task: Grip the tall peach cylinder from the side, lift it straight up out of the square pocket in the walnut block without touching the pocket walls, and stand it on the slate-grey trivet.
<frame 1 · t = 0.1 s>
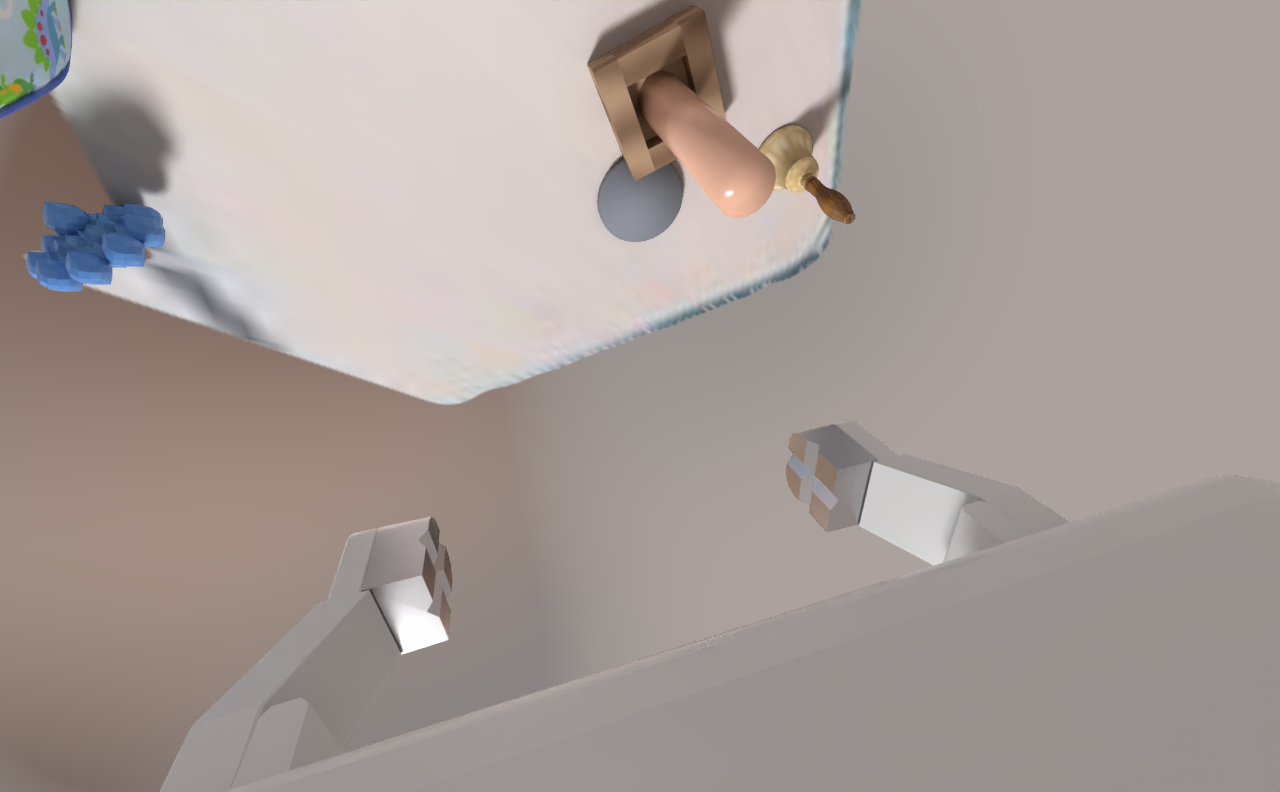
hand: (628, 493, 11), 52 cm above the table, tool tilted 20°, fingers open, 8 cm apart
hand bell: (781, 158, 64), on the table
pocket block: (657, 95, 54), on the table
trivet: (639, 198, 62), on the table
tall peach cylinder: (660, 98, 53), point 1 cm above the table, touching pocket block
grapes: (116, 204, 47), on the table
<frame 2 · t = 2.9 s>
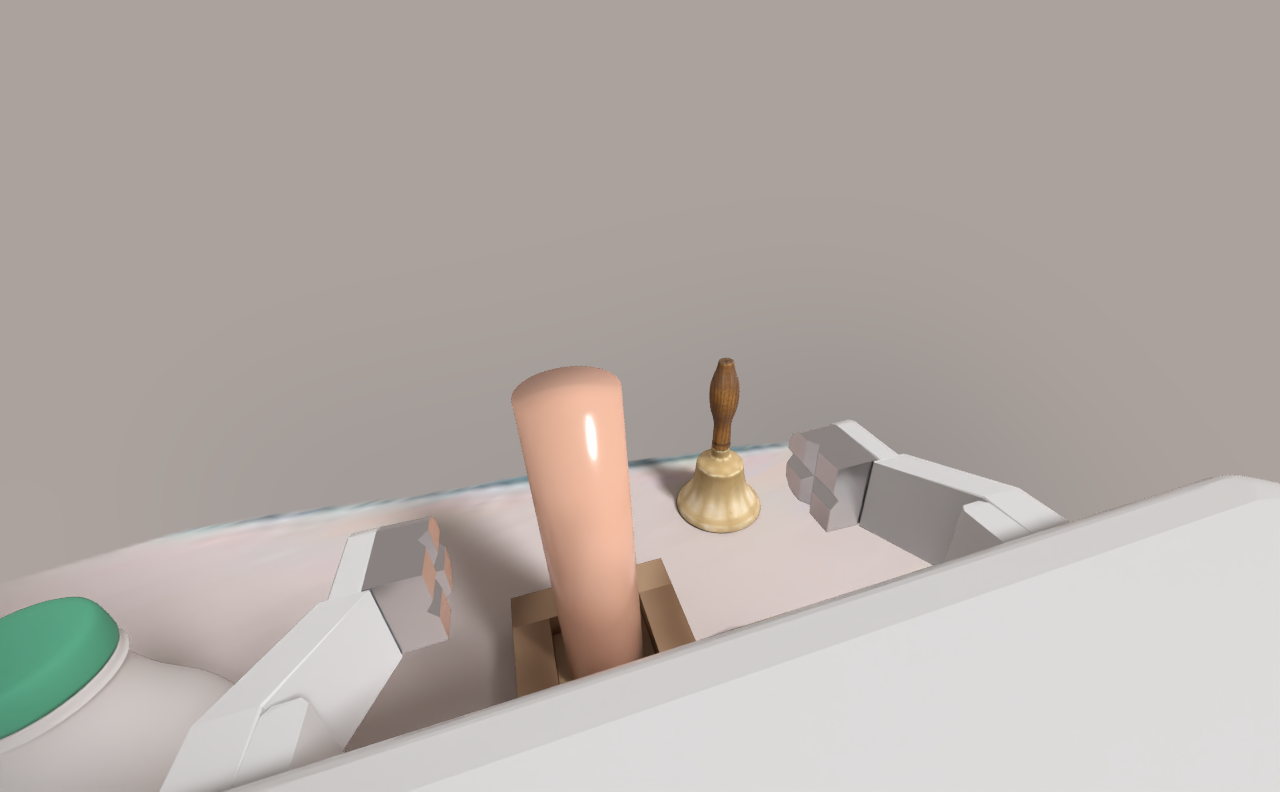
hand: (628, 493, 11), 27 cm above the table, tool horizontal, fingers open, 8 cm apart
hand bell: (718, 504, 49), on the table
pocket block: (608, 672, 34), on the table
tall peach cylinder: (607, 663, 34), point 1 cm above the table, touching pocket block
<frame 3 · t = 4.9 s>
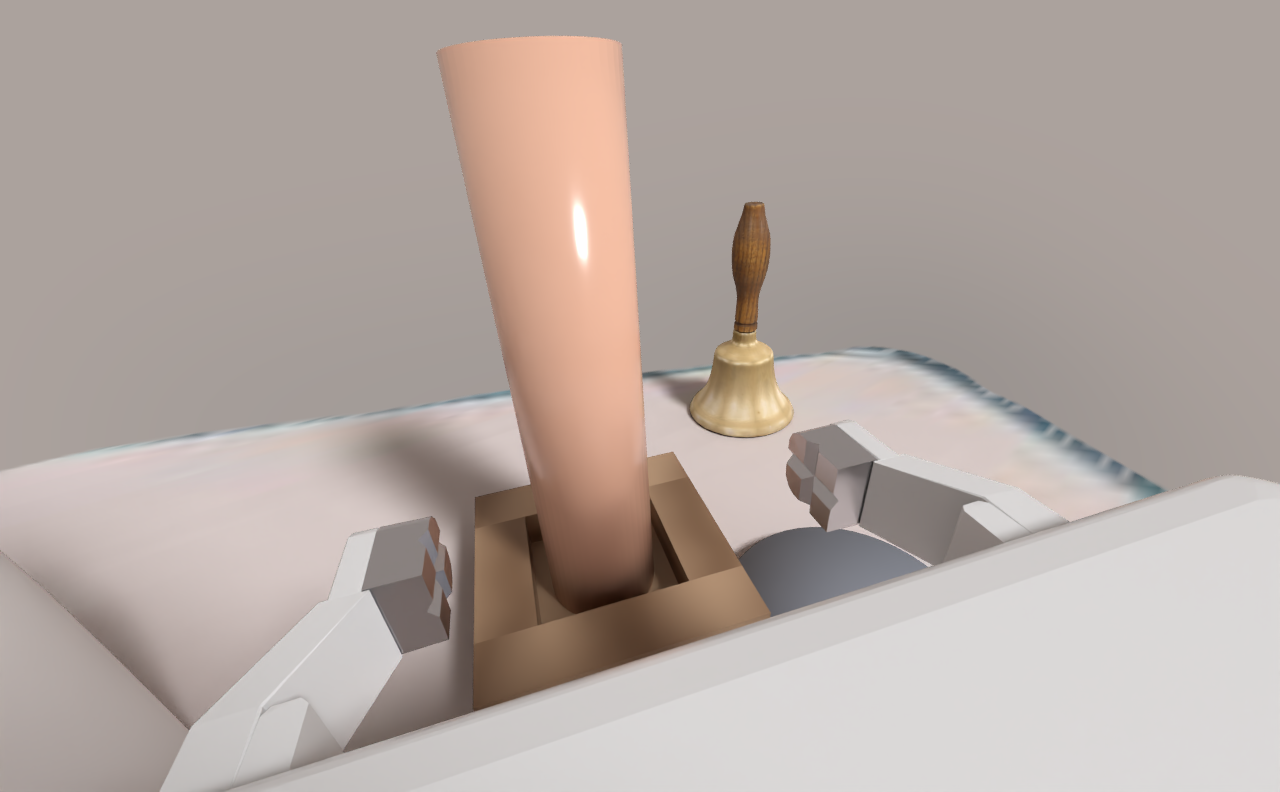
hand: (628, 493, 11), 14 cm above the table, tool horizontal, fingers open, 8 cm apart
hand bell: (740, 411, 40), on the table
pocket block: (605, 586, 25), on the table
trivet: (843, 629, 22), on the table
tall peach cylinder: (603, 573, 25), point 1 cm above the table, touching pocket block
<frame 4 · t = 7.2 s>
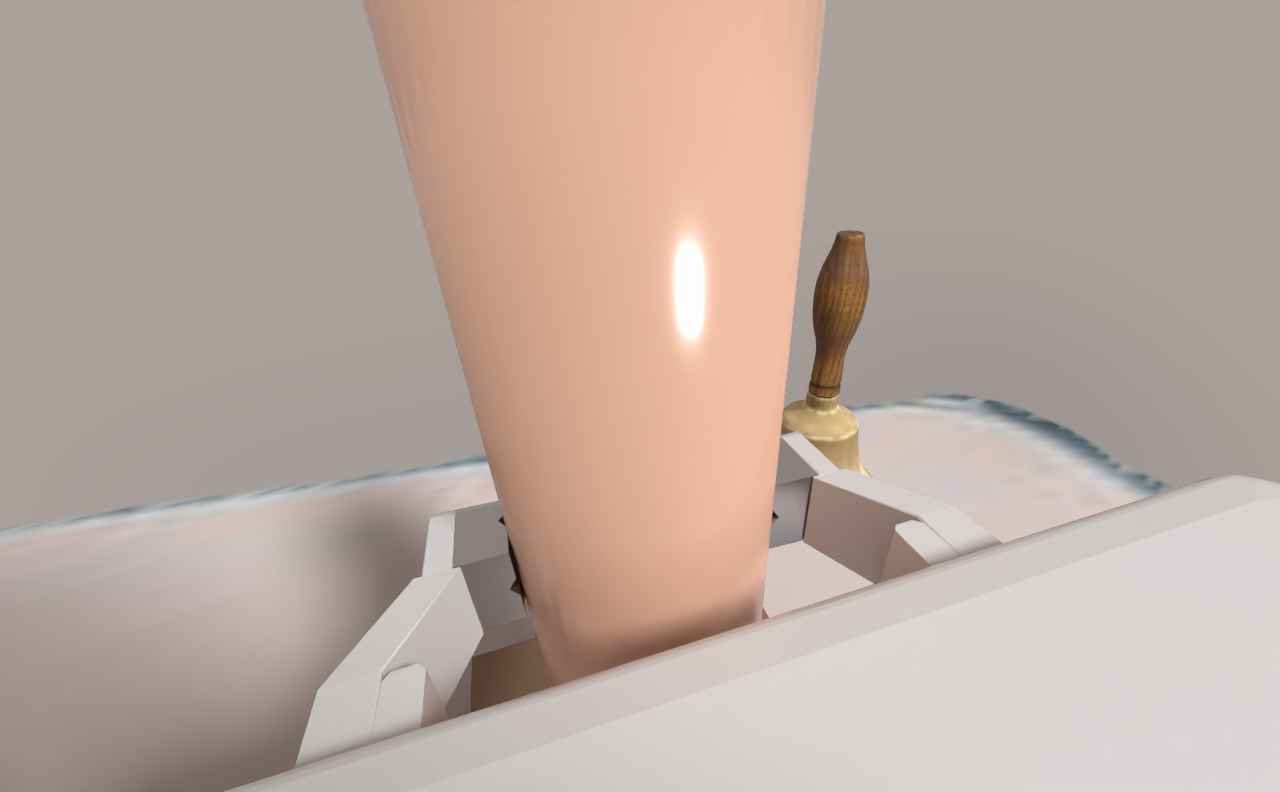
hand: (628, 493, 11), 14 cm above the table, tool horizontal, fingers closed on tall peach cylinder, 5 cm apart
hand bell: (808, 488, 31), on the table
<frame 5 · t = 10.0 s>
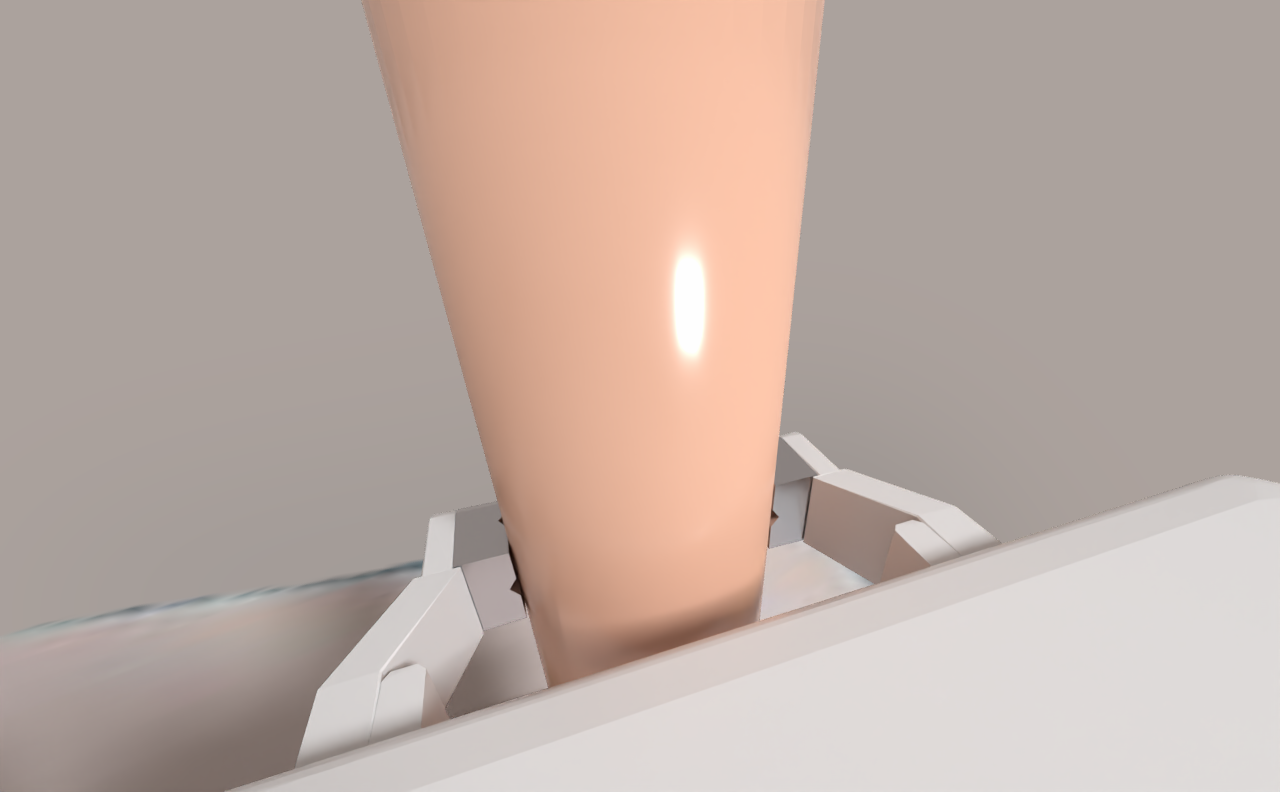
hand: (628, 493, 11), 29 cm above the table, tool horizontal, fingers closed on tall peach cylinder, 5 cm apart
when the fingers open (15 cm above the table, at t = 13.0 s): tall peach cylinder drops 1 cm, resting on trivet.
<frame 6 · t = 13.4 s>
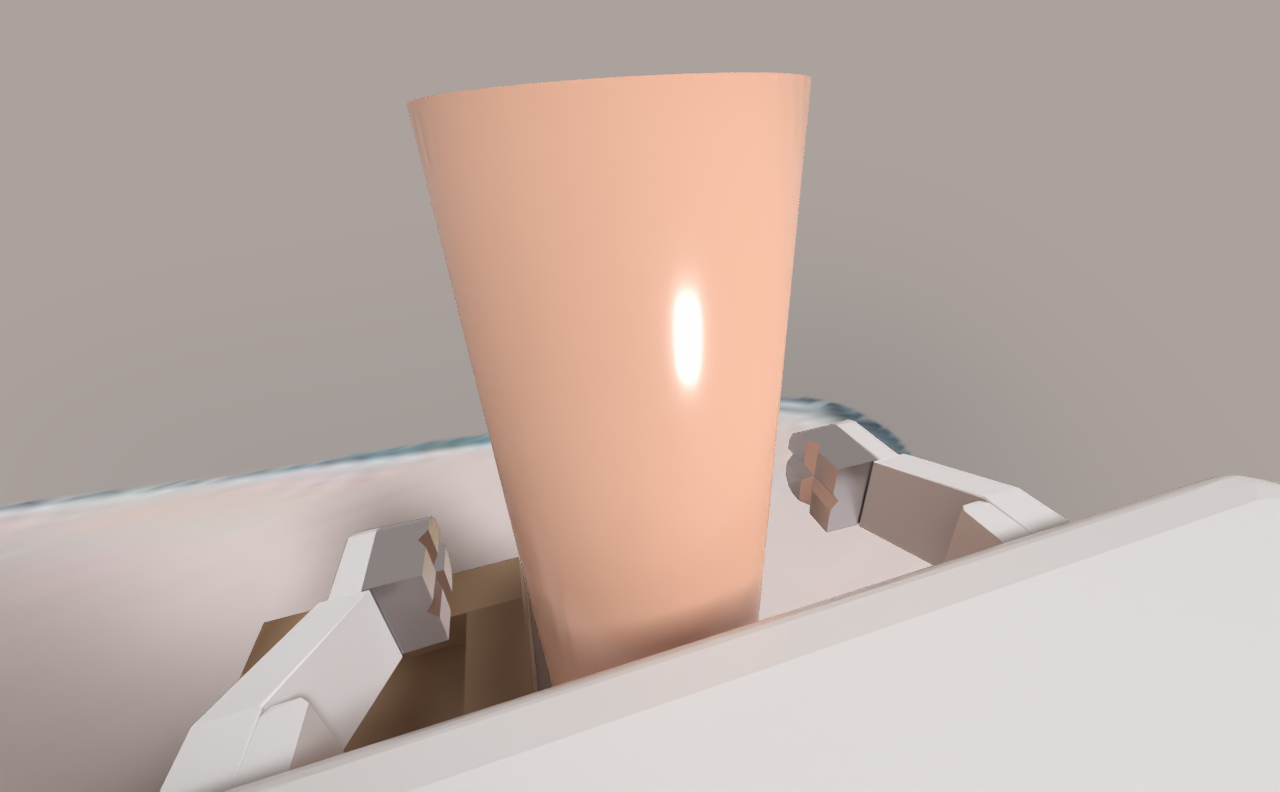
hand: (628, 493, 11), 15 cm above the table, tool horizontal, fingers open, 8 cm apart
pocket block: (399, 746, 21), on the table
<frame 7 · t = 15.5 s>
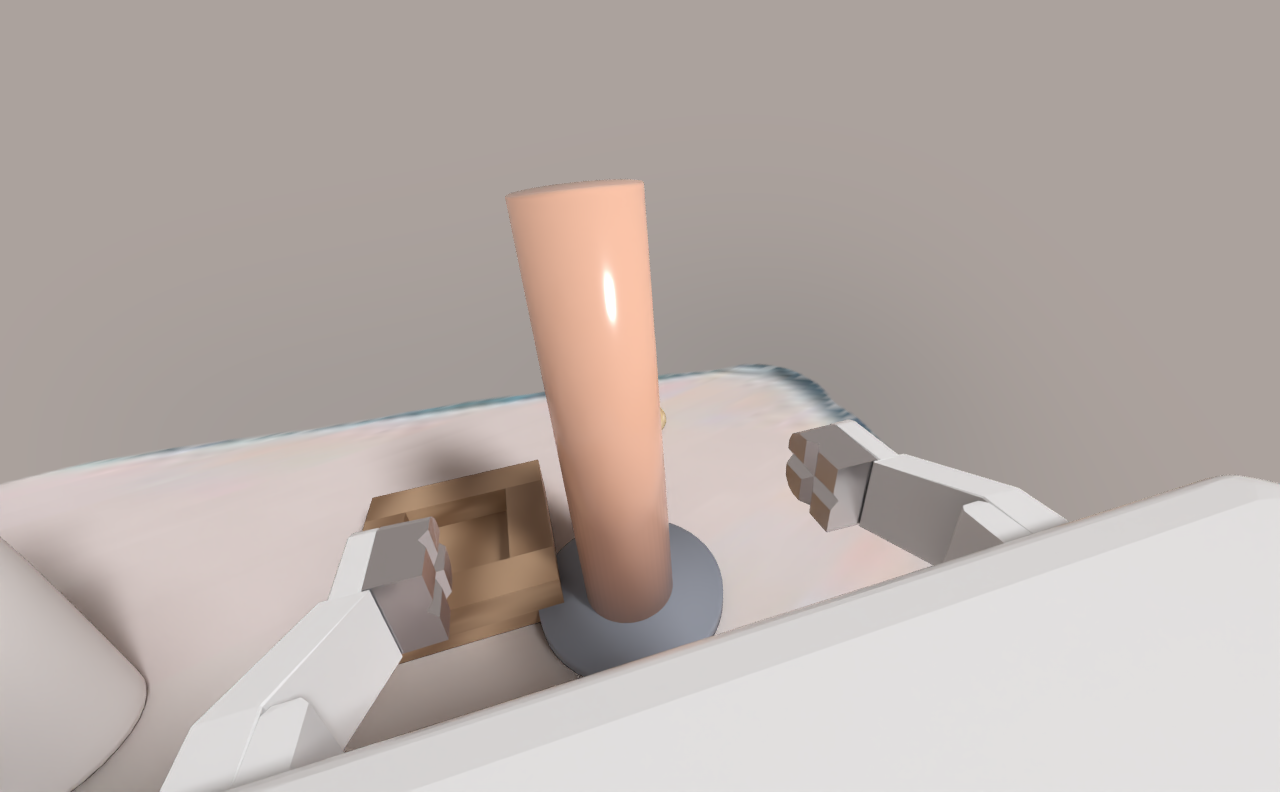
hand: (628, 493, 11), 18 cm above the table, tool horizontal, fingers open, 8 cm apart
milk bottle: (56, 752, 24), on the table
pocket block: (466, 565, 33), on the table
trivet: (631, 594, 29), on the table
tall peach cylinder: (629, 584, 29), point 1 cm above the table, touching trivet
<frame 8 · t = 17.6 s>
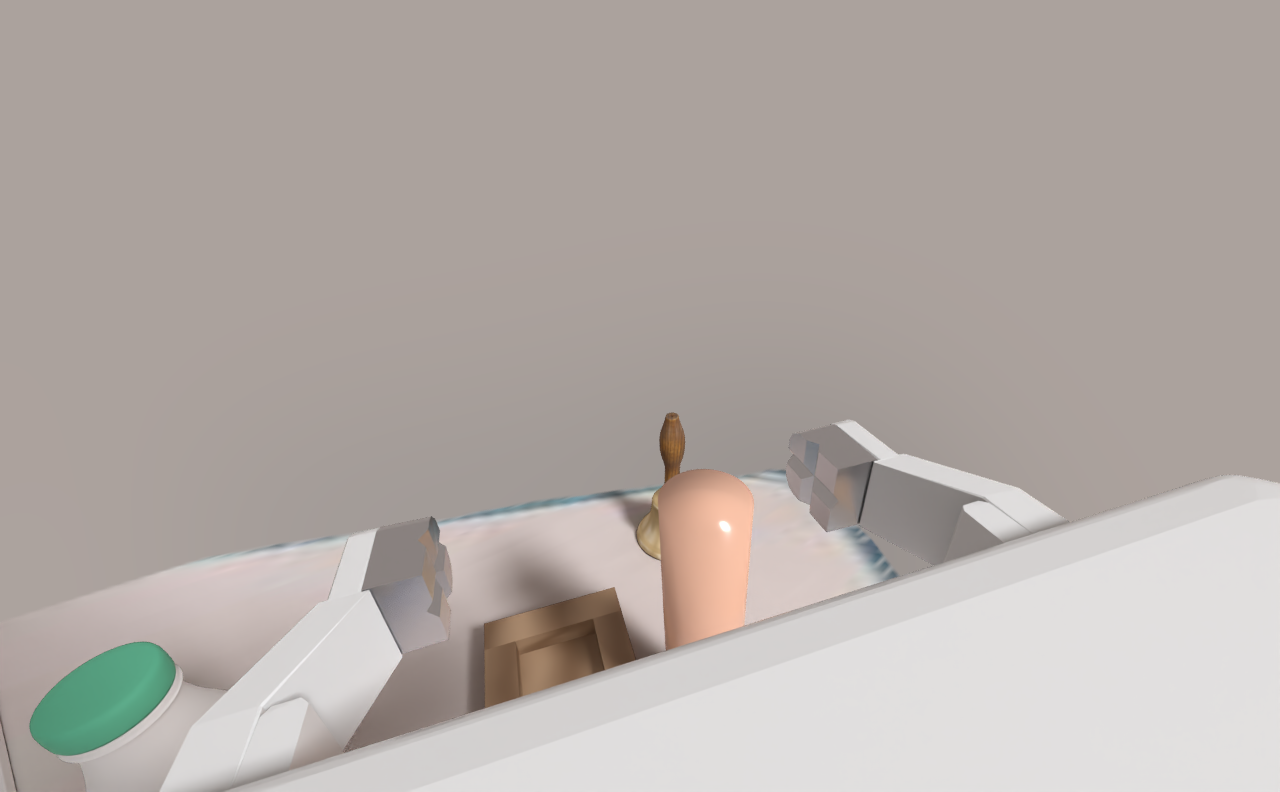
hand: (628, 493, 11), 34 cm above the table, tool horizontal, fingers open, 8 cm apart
hand bell: (673, 535, 55), on the table
pocket block: (565, 686, 41), on the table
tall peach cylinder: (702, 714, 37), point 1 cm above the table, touching trivet
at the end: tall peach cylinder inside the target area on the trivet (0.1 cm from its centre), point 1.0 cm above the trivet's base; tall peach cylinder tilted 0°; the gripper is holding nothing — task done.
